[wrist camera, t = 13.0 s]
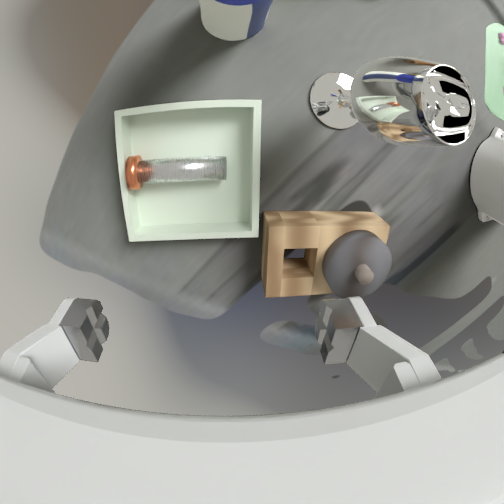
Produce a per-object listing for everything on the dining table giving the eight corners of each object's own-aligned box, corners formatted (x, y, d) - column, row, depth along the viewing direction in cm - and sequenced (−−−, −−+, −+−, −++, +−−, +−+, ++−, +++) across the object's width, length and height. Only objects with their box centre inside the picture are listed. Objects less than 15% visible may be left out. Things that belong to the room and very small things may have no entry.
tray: (257, 101, 29) (261, 99, 26) (255, 225, 37) (258, 237, 33) (124, 110, 28) (114, 111, 24) (136, 230, 35) (129, 241, 32)
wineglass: (376, 107, 30) (495, 127, 12) (335, 141, 32) (441, 185, 14) (340, 60, 27) (451, 31, 9) (295, 94, 29) (383, 79, 11)
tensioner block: (373, 212, 37) (406, 239, 29) (360, 271, 42) (385, 306, 34) (263, 211, 36) (274, 242, 28) (261, 276, 40) (270, 317, 33)
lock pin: (227, 187, 29) (126, 192, 28) (224, 182, 33) (135, 187, 31) (227, 151, 28) (124, 157, 26) (225, 150, 32) (133, 155, 30)
